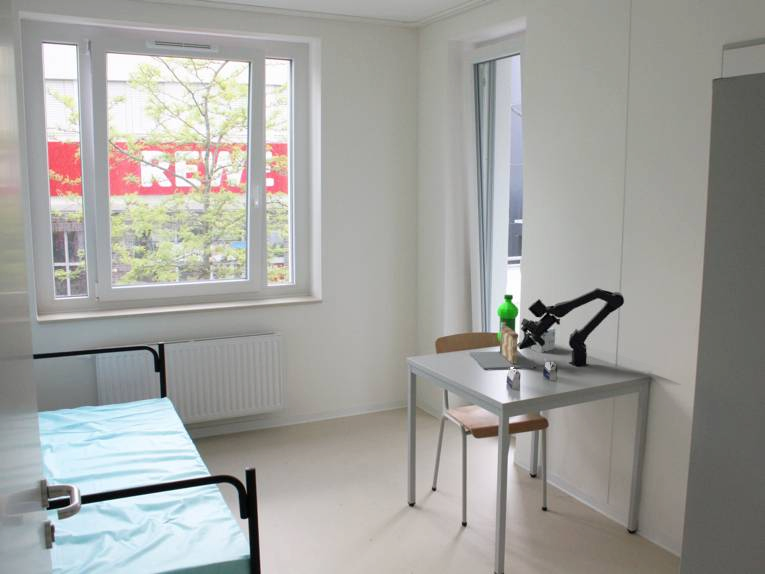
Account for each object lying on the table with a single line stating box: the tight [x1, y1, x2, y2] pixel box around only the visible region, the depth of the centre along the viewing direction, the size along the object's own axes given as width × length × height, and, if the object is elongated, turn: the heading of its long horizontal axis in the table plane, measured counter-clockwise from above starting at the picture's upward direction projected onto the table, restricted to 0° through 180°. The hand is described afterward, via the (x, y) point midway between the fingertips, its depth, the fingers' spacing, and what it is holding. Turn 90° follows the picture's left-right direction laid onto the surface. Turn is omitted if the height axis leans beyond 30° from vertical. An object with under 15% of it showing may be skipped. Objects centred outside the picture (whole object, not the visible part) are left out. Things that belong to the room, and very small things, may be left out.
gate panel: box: [501, 326, 519, 364], centre depth 314 cm, size 17×3×13 cm, turn 7°
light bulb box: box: [530, 326, 556, 353], centre depth 336 cm, size 11×7×11 cm, turn 130°
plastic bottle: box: [497, 294, 519, 342], centre depth 346 cm, size 10×10×25 cm
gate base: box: [469, 322, 537, 370], centre depth 315 cm, size 24×26×16 cm
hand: (519, 348), depth 312 cm, fingers closed
